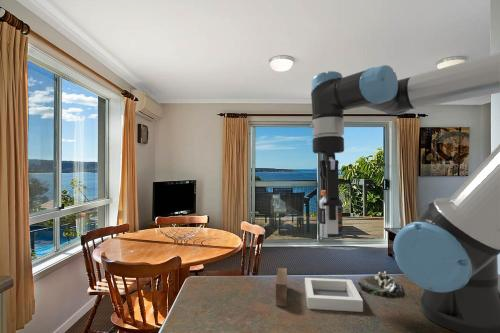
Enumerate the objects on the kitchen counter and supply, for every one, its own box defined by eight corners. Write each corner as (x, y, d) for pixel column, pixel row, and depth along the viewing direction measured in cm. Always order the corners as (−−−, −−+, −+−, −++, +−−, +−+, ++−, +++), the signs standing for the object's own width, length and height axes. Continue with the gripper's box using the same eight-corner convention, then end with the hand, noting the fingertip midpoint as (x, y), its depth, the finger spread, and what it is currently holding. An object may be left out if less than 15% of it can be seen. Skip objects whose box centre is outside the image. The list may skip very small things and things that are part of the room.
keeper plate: (351, 289, 73) (351, 279, 73) (363, 311, 61) (362, 300, 61) (304, 287, 75) (304, 277, 75) (307, 308, 63) (307, 297, 63)
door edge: (286, 286, 75) (286, 268, 75) (286, 306, 64) (286, 284, 64) (278, 286, 76) (277, 267, 76) (276, 305, 65) (275, 284, 65)
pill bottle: (328, 240, 64) (327, 191, 65) (312, 235, 70) (311, 189, 70) (348, 237, 67) (347, 190, 67) (331, 232, 72) (330, 189, 73)
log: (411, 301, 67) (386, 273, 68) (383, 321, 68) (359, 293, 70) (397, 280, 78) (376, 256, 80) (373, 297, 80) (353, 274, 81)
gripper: (309, 141, 79) (311, 223, 78) (316, 131, 60) (318, 239, 60) (336, 140, 78) (338, 223, 77) (352, 130, 59) (354, 240, 59)
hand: (329, 230), depth 68 cm, fingers closed on pill bottle, 6 cm apart
